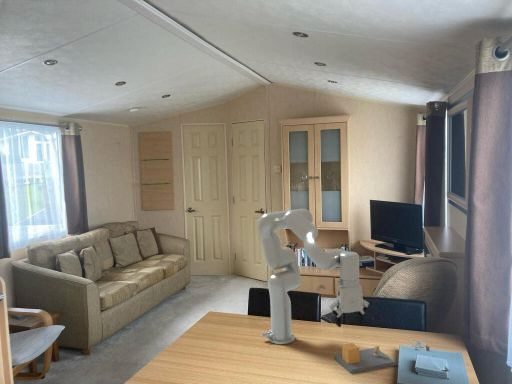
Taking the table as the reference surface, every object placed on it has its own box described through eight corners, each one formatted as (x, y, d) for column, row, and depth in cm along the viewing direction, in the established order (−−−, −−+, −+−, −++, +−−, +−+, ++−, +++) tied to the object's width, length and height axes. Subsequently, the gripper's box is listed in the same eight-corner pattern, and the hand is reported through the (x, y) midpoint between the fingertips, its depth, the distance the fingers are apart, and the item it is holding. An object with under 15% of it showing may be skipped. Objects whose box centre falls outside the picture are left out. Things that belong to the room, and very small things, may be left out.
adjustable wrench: (447, 372, 158) (447, 367, 158) (431, 372, 158) (431, 368, 158) (423, 344, 183) (423, 340, 182) (409, 344, 183) (409, 340, 183)
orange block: (348, 364, 162) (348, 349, 162) (342, 358, 167) (342, 344, 167) (359, 362, 164) (359, 347, 163) (353, 356, 168) (352, 343, 168)
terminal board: (351, 373, 158) (350, 359, 157) (334, 358, 171) (333, 345, 171) (395, 365, 163) (395, 351, 163) (375, 351, 177) (375, 338, 176)
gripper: (334, 287, 158) (334, 330, 159) (373, 283, 163) (373, 325, 164) (325, 282, 165) (325, 323, 166) (363, 278, 170) (363, 318, 171)
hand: (349, 324), depth 165 cm, fingers open, 9 cm apart
